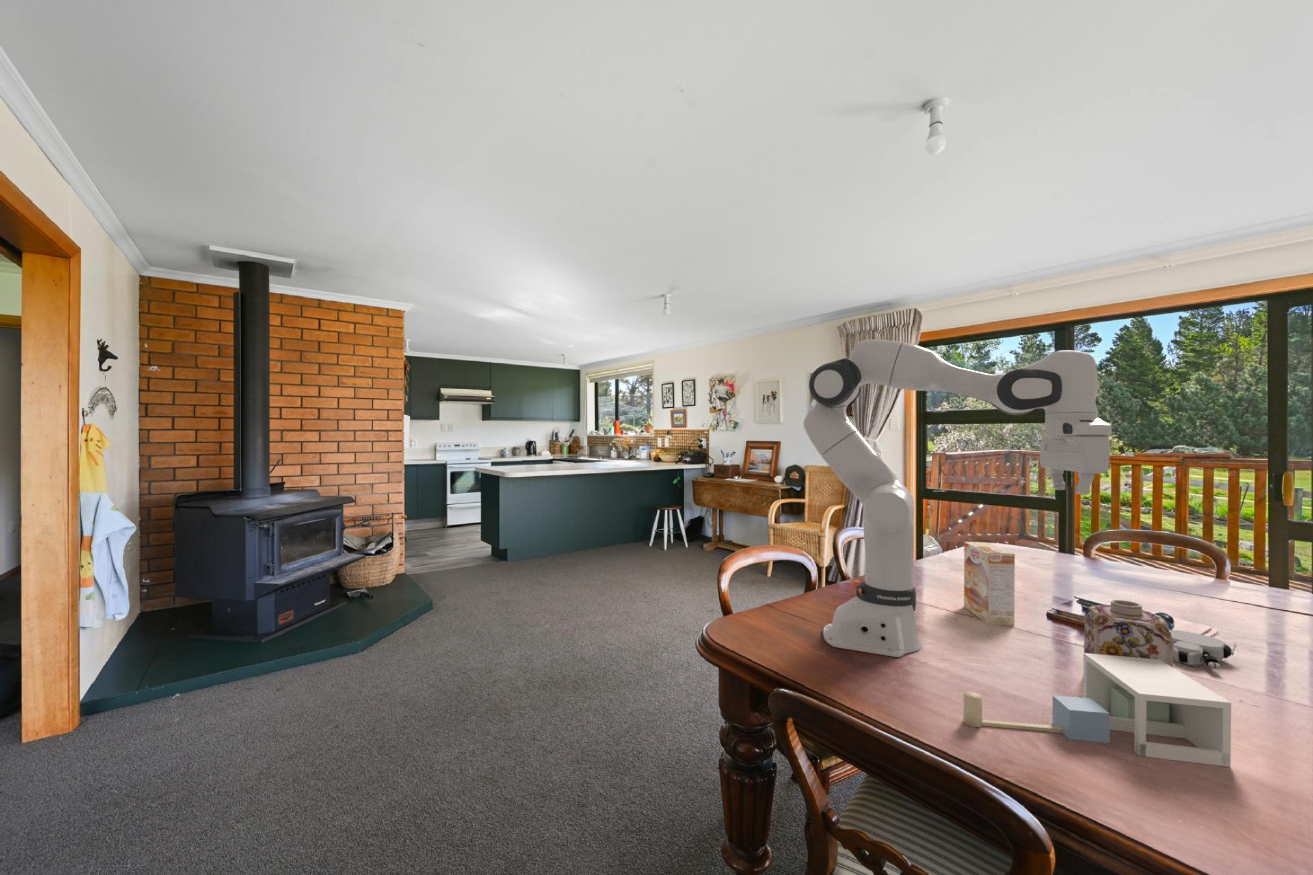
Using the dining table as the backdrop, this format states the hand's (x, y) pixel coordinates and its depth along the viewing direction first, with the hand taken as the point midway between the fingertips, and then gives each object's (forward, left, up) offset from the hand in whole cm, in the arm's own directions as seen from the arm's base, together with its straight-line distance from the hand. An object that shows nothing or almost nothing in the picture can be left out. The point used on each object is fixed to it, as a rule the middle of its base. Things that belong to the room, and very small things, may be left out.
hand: (1070, 492), depth 112 cm
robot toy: (+32, +16, -40) cm, 53 cm away
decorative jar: (+7, -6, -39) cm, 40 cm away
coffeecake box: (-3, +37, -39) cm, 54 cm away
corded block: (-17, -25, -39) cm, 50 cm away
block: (+2, -18, -39) cm, 43 cm away
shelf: (+2, -22, -39) cm, 45 cm away
